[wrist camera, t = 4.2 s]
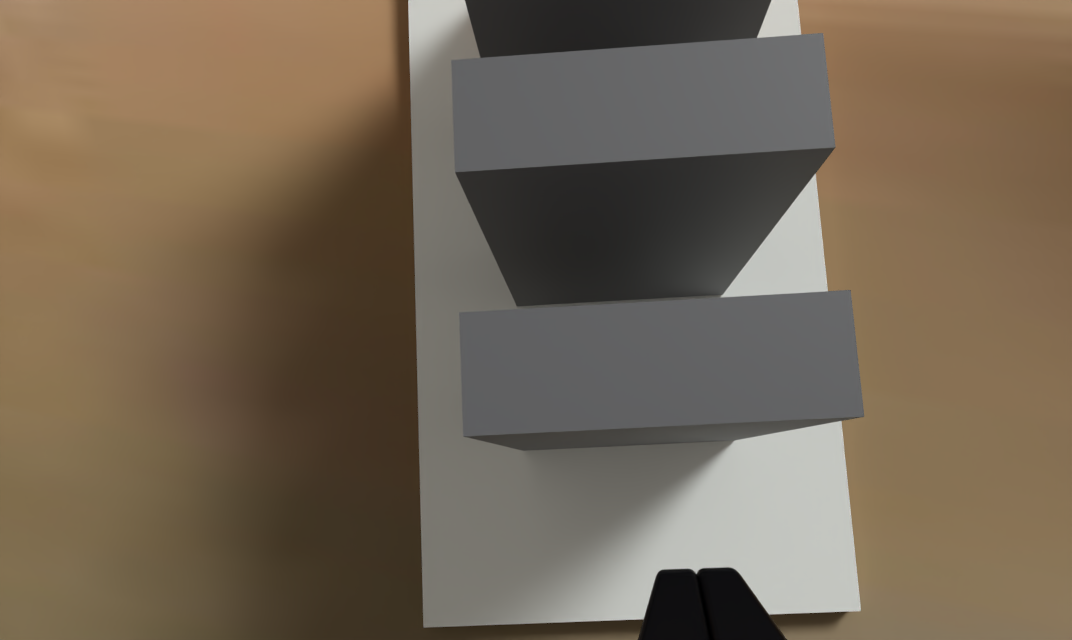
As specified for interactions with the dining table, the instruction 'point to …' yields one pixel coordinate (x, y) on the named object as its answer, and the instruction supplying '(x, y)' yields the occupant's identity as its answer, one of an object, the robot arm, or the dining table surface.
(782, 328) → the domino
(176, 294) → the dining table surface
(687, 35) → the domino
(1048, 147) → the dining table surface
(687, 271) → the domino
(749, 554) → the white mat
